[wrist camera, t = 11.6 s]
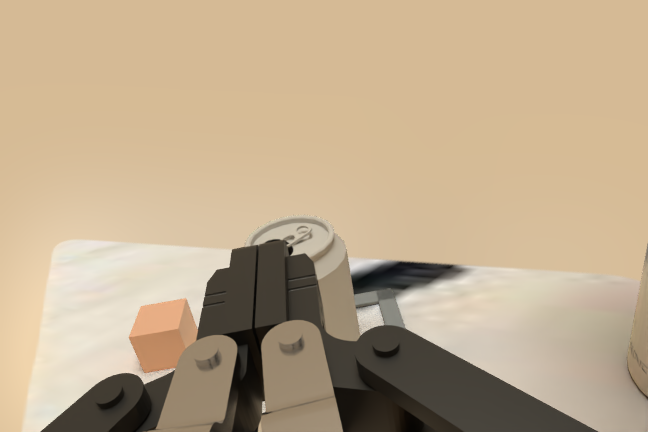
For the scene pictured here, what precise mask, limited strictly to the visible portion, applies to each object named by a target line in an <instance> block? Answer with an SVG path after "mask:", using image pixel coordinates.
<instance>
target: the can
mask: <svg viewBox="0 0 648 432" xmlns="http://www.w3.org/2000/svg"><path fill="white" fill-rule="evenodd" d="M279 240H285V242H286V245H287V249H288V253H289V256H292V255H298V254H303V253H306V254H307V256H308V257H309V258H310V259H311V260H312V261H313V262H314V266H315V270H316V275H317V280H318V284H319V289H320V294H321V298H322V303H323V310H324V318H325V325H326V332H327V333H328V334H330V335H331V336H333V337H335V338H338V339H341V340H347V341H357V340H358V339H359V337H360V332H359V325H358V319H357V313H356V306H355V300H354V294H353V287H352V281H351V275H350V268H349V262H348V256H347V249H346V246H345V243H344V241H343V240H342V239H341V238H340V237H339V236H338V235H337V234H336V233H334V229H333V226H332V225H331V224H330V223H329V222H328V221H327V220H324V219H322V218H319V217H317V216H310V215H293V216H288V217H283V218H279V219H276V220H273V221H270V222H268V223H266V224H264V225H263V226H260V227H258V228H257V229H256V230H255V231H254V232H253V233H251V234H250V235H249V237H248V239H247V240H246V242H245V247H247V246H253V245H259V244H263V243H268V242H273V241H279Z"/></svg>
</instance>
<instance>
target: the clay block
mask: <svg viewBox="0 0 648 432" xmlns="http://www.w3.org/2000/svg"><path fill="white" fill-rule="evenodd" d="M197 333H198V330H197V327H196V324H195V321H194V319H193V316H192V313H191V310H190V307H189V305H188V302H187V299H186V298H185V299H179V300H174V301H168V302H162V303H157V304H151V305H146V306H141V307H140V310H139V312H138V315H137V318H136V320H135V323H134V325H133V328H132V330H131V333H130V336H129V339H130V341H131V344H132V346H133V348H134V350H135V353H136V355H137V357H138V359H139V362H140V364H141V366H142V368H143V371H144V373H148V372H153V371H159V370H164V369H170V368H176V366H177V363H178V360H179V358H180V356H181V354H182V353H183V351H184V350H185V349H186V348H187V347H188V346H190V345H191V344H192V343H194V342H195V341H196V338H197Z"/></svg>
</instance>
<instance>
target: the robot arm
mask: <svg viewBox="0 0 648 432" xmlns="http://www.w3.org/2000/svg"><path fill="white" fill-rule="evenodd" d="M627 363H628V369H629V372H630V374H631V377H632V379H633V380H634V382H635V383H636V384H637V386H638V387H639V389H640V390H641V391H642V392H643V393H644V394H645V395H646V396H647V397H648V245H647V250H646V256H645V261H644V267H643V273H642V278H641V283H640V289H639V294H638V300H637V306H636V311H635V316H634V322H633V327H632V333H631V338H630V344H629V349H628V355H627ZM262 401H265V406H266V412H265V413H262ZM41 432H598V431H596V430H594V429H592V428H590V427H588V426H586V425H585V424H583V423H581V422H579V421H577V420H575V419H573V418H572V417H570V416H568V415H566V414H564V413H562V412H560V411H558V410H557V409H555V408H553V407H551V406H549V405H547V404H545V403H543V402H542V401H540V400H538V399H536V398H534V397H532V396H530V395H528V394H527V393H525V392H523V391H521V390H519V389H517V388H515V387H514V386H512V385H510V384H508V383H506V382H504V381H502V380H500V379H499V378H497V377H495V376H493V375H491V374H489V373H487V372H485V371H484V370H482V369H480V368H478V367H476V366H474V365H472V364H470V363H469V362H467V361H465V360H463V359H461V358H459V357H457V356H456V355H454V354H452V353H450V352H448V351H446V350H444V349H442V348H441V347H439V346H437V345H435V344H433V343H431V342H429V341H427V340H426V339H424V338H422V337H420V336H418V335H416V334H414V333H412V332H411V331H409V330H407V329H405V328H402V327H399V326H394V325H383V326H378V327H374V328H372V329H370V330H368V331H366V332H365V333H363V334H362V335H361V336H360V337H359V339H358V340H357V341H347V340H341V339H338V338H335V337H333V336H331V335H330V334H328V333H327V332H326V325H325V318H324V310H323V303H322V298H321V294H320V289H319V284H318V280H317V275H316V270H315V266H314V262H313V261H312V260H311V259H310V258H309V257H308V256H307V254H306V253H303V254H298V255H292V256H289V253H288V249H287V245H286V242H285V240H279V241H273V242H268V243H263V244H259V245H253V246H247V247H242V248H237V249H233V250H232V253H231V260H230V267H229V268H224V269H219V270H216V272H215V273H214V274H213V276H212V277H211V278H210V280H209V281H208V282H207V287H206V292H205V297H204V302H203V308H202V312H201V318H200V323H199V328H198V333H197V338H196V341H195V342H194V343H192V344H191V345H190V346H188V347H187V348H186V349H185V350H184V351H183V353H182V354H181V356H180V358H179V360H178V363H177V366H176V369H175V370H174V371H173V372H171V373H169V374H167V375H165V376H163V377H160V378H158V379H156V380H154V381H151V382H149V383H147V384H143V382H142V380H141V379H140V377H138V376H137V375H134V374H130V373H122V374H117V375H113V376H111V377H108V378H106V379H104V380H102V381H101V382H99V383H98V384H96V385H95V386H94V387H92V388H91V389H90V390H89V391H88V392H87V393H85V394H84V395H83V396H82V397H81V398H79V399H78V400H77V401H76V402H75V403H74V404H72V405H71V406H70V407H69V408H68V409H67V410H65V411H64V412H63V413H62V414H61V415H60V416H58V417H57V418H56V419H55V420H54V421H52V422H51V423H50V424H49V425H48V426H47V427H45V428H44V429H43V430H42V431H41Z"/></svg>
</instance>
